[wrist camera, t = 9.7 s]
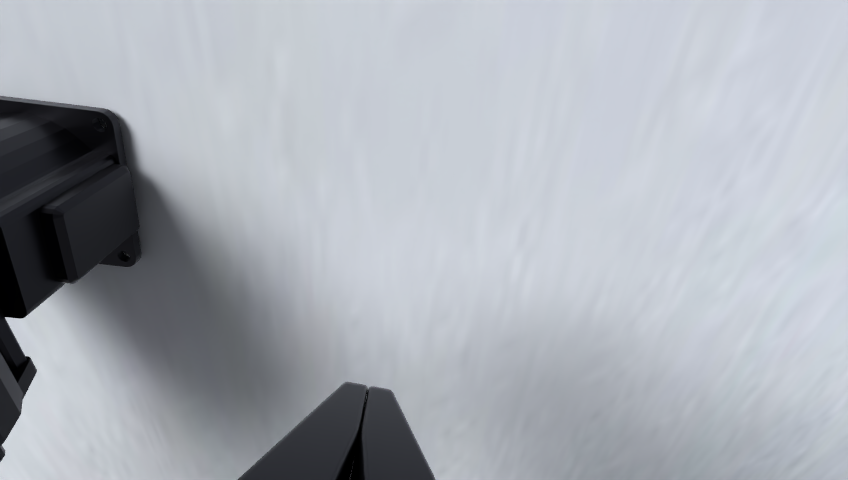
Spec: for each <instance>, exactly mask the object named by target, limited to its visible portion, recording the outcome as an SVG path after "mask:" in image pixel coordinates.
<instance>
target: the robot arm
mask: <svg viewBox="0 0 848 480" xmlns="http://www.w3.org/2000/svg"><path fill="white" fill-rule="evenodd" d="M99 118H100V119H102V120H103V121H104V122H105V123H106V125H107V128H103V127H102V126H101V125H100V123H99ZM138 229H139V222H138V215H137V209H136V203H135V197H134V191H133V185H132V179H131V173H130V171H129V169H128V168H127V165H126V159H125V153H124V147H123V141H122V135H121V129H120V123H119V121H118V118H117V117H116V116H115V114H114V113H112V112H111V111H110V110H107V109H104V108H96V107H88V106H79V105H71V104H63V103H55V102H46V101H38V100H30V99H21V98H13V97H5V96H0V462H1V460H2V459H3V457H4V456H5V450H4V448H3V447H2V444H3V443H4V441H5V440H6V438H7V437H8V435H9V433H10V432H11V430H12V428H13V427H14V425H15V423H16V421H17V420H18V418H19V416H20V415H21V409H22V400H23V398H24V396H25V394H26V392H27V390H28V388H29V386H30V384H31V382H32V380H33V378H34V376H35V374H36V372H37V369H36V368H35V366H34V364H33V362H32V360H31V358H30V357H27V356H25V355H24V353H23V351H22V349H21V347H20V345H19V343H18V342H17V340H16V338H15V336H14V334H13V332H12V330H11V328H10V327H9V325H8V323H7V321H6V319H5V317H12V318H25V317H26V316H27V315H28V314H29V313H31V312H32V311H33V310H34V309H35V308H37V307H38V306H39V305H40V304H41V303H43V302H44V301H45V300H46V299H47V298H48V297H50V296H51V295H52V294H53V293H54V292H56V291H57V290H58V289H59V288H60V287H62V286H63V285H64V284H65V283H68V284H74V283H76V282H77V281H78V280H79V279H81V278H82V277H83V276H84V275H85V274H86V273H88V272H89V271H90V270H91V269H92V268H93V267H95V266H96V265H97V264H106V265H115V266H123V267H130V266H132V265H134V264H135V263H136V262H137V261H138V260H139V259H140V258H141V249H140V243H139V237H138V231H137V230H138ZM123 251H125V252H127V253H128V254H129V256H130V257H129V256H126V255H125V254H124V252H123ZM367 391H368V392H367ZM366 396H367V397H366ZM365 401H366V402H365ZM364 406H365V407H364ZM354 456H355V457H354ZM353 461H354V462H353ZM352 466H353V467H352ZM351 471H352V472H351ZM350 476H351V477H350ZM238 480H436V479H435V477H434V475H433V473H432V471H431V469H430V467H429V465H428V463H427V461H426V459H425V457H424V455H423V453H422V451H421V449H420V447H419V445H418V443H417V441H416V439H415V437H414V435H413V433H412V431H411V428H410V426H409V424H408V422H407V420H406V418H405V416H404V414H403V412H402V410H401V408H400V406H399V404H398V402H397V400H396V398H395V396H394V394H393V392H392V391H391V390H389V389H384V388H378V387H370V388H369V389H368V388H367V386H366V385H362V384H357V383H352V382H345V383H343V384H342V385H341V386H340V387H339V388H338V389H337V390H336V391H335V392H333V393H332V394H331V395H330V396H329V397H328V398H327V399H326V400H325V401H324V402H322V403H321V404H320V405H319V406H318V407H317V408H316V409H315V410H314V411H313V412H311V413H310V414H309V415H308V416H307V417H306V418H305V419H304V420H303V421H302V422H300V423H299V424H298V425H297V426H296V427H295V428H294V429H293V430H292V431H291V432H289V433H288V434H287V435H286V436H285V437H284V438H283V439H282V440H281V441H280V442H278V443H277V444H276V445H275V446H274V447H273V448H272V449H271V450H270V451H269V452H267V453H266V454H265V455H264V456H263V457H262V458H261V459H260V460H259V461H257V462H256V463H255V464H254V465H253V466H252V467H251V468H250V469H249V470H248V471H246V472H245V473H244V474H243V475H242V476H241V477H240V478H239V479H238Z"/></svg>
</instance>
